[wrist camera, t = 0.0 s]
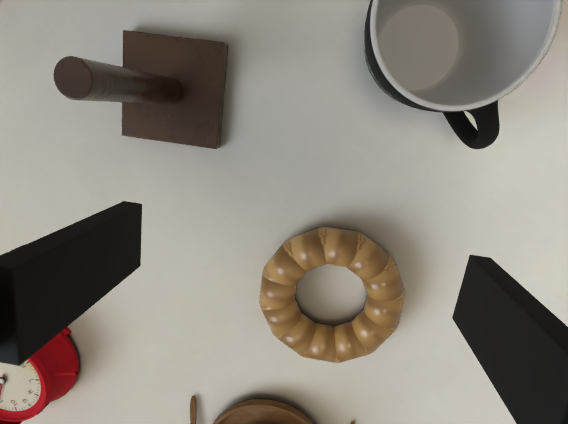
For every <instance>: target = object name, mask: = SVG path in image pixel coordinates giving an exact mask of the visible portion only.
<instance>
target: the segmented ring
mask: <svg viewBox="0 0 568 424" xmlns="http://www.w3.org/2000/svg"><path fill="white" fill-rule="evenodd" d="M325 264H330V265H336V266H342V267H347V268H348V269H350V270H351V271H352V272H354V273H355V274H356V275H357V276H359V277H360V278H361V279H362V281H363V284H364V286H365V289H366V291H367V298H366V302H365V307H364V309H363V310H362V311H361V312H360V313H359V314H358V315H357V317H356V318H355V319H354V320H353V321H350V322H347V323H344V324H340V325H337V326H329V325H324V324H318V323H315V322H313V321H312V320H310V319H309V318H308V317H306V316H305V315H304V314H302V313H301V311H300V309H299V307H298V304H297V302H296V300H295V292H296V286H297V282H298V281H299V280H300V279H301V278H302V277H303V275H304V274H305V273H306V272H307V271H308V270H310V269H313V268H316V267H319V266H322V265H325ZM404 299H405V289H404V286H403V283H402V280H401V277H400V275H399V272H398V269H397V267H396V264H395V261H394V259H393V258H392V256H391V255H390V254H389V253H387V252H386V251H385V250H384V249H382V248H381V247H380V246H378V245H377V244H376V243H375V242H373V241H372V240H371V239H369V238H368V237H367V236H366V235H364V234H363V233H360V232H356V231H350V230H343V229H337V228H330V227H320V228H317V229H314V230H311V231H309V232H306V233H303V234H300V235H298V236H295V237H292V238H290V239H288V240H286V241H285V242H284V243H283V245H282V246H281V247H280V248H279V249H278V251H277V252H276V253H275V254H274V256H273V257H272V258H271V259H270V260H269V262H268V263H267V264H266V266H265V267H264V270H263V275H262V283H261V291H260V307H261V309H262V311H263V313H264V315H265V318H266V320H267V322H268V324H269V326H270V328H271V331H272V333H273V334H274V335H275V337H276V338H278V339H279V340H280V341H282V342H283V343H284V344H286V345H287V346H288V347H290V348H291V349H292V350H294V351H295V352H297V353H298V354H299V355H301V356H303V357H306V358H311V359H317V360H322V361H328V362H333V363H340V362H344V361H347V360H351V359H354V358H358V357H361V356H365V355H368V354H371V353H373V352H374V351H375V350H376V349H377V348H378V347H379V346H380V345H381V344H382V343H383V342H384V341H385V340H386V339H387V338H388V337H389V336H390V335H391V334H392V333H393V332H394V331H395V330H396V329H397V327H398V324H399V320H400V316H401V312H402V308H403V304H404Z"/></svg>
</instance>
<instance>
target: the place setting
mask: <svg viewBox="0 0 568 424" xmlns="http://www.w3.org/2000/svg"><path fill="white" fill-rule="evenodd" d="M190 421H191V424H196V400H195V396H192V398H191V403H190ZM213 424H313V423H312V422H311V421H310V420H309V419H308V418H307V417H306V416H305V415H304V414H303V413H301V412H300V411H298V410H297V409H295V408H293V407H291V406H289V405H287V404H284V403H281V402H278V401H274V400H267V399H254V400H248V401H243V402H240V403H237V404H235V405H233V406H231V407H230V408H228V409H226V410H225V411H224V412H223V413H222V414H220V415H219V417H218V418H217V419H216V420H215V422H214V423H213ZM351 424H355V423H354V422H351Z"/></svg>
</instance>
